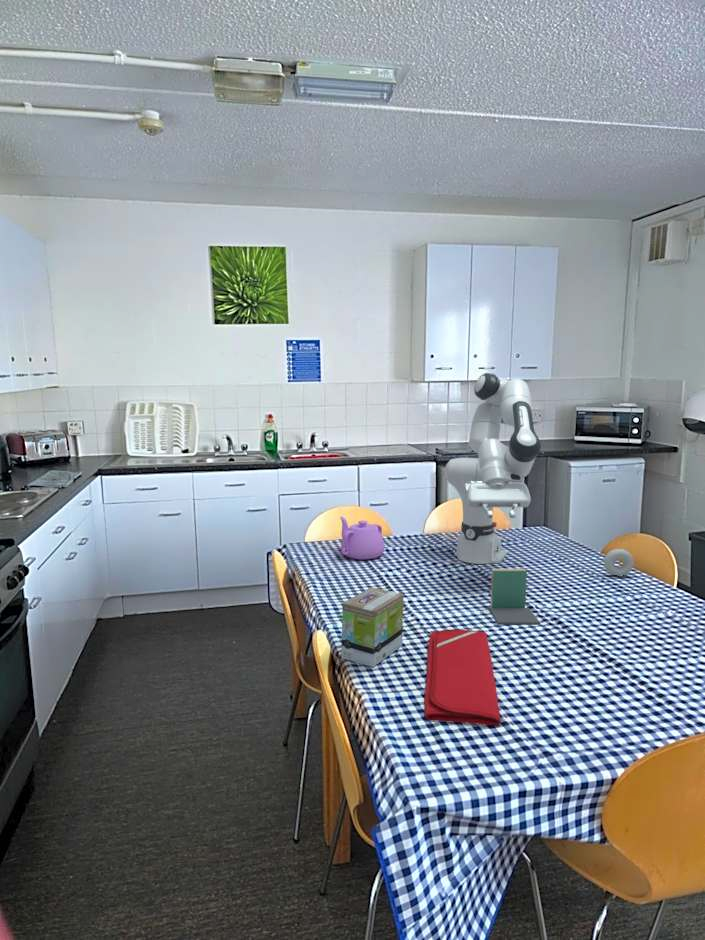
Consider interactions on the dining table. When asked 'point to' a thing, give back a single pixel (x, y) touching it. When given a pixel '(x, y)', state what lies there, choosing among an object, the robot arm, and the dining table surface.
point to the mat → (514, 616)
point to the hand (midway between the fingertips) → (501, 517)
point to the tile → (508, 588)
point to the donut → (616, 554)
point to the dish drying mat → (460, 678)
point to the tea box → (372, 626)
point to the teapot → (362, 540)
